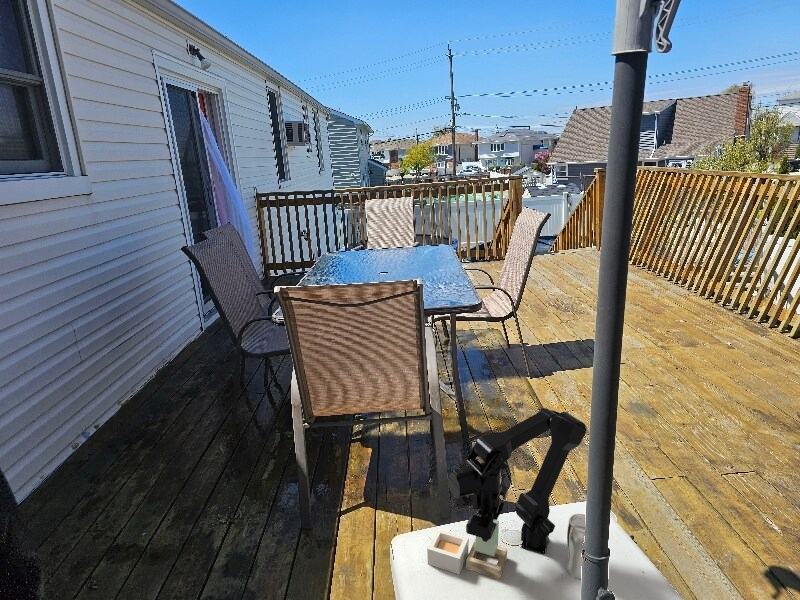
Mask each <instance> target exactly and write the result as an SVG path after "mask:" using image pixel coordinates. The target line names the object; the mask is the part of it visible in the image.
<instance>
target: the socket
mask: <svg viewBox="0 0 800 600" xmlns="http://www.w3.org/2000/svg"><path fill="white" fill-rule="evenodd" d="M441 540H443V541H446V542H449V543H452V544H456V545H459V546H460V548H459V550H458V552H457V554H454V553H451V552H448V551H445V550H442V549H438V548H437V547H438V545H439V543H440V541H441ZM469 540H470V538H469V537H467V536H464V535H460V534H457V533H453V532H451V531H447V530H444V529H439V528H437V530H436V532H435V534H434V535H433V538H432V539H431V541H430V543H429V545H428V547H427V554H426V555H427V565H430V566H433V567H436V568H439V569H442V570H444V571H448V572H451V573H454V574H457V575H460V574H461V571H462V569H463V566H464V564H465V562H466V560H465V559H467V558H466V557H468V555H469V552H470V550H469V543H470V541H469Z"/></svg>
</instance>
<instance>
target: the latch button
mask: <svg viewBox="0 0 800 600" xmlns="http://www.w3.org/2000/svg"><path fill="white" fill-rule="evenodd" d="M437 548H438V549H442V550H445V551H448V552H451V553H454V554H457V552H458V550H459V548H460V546H459V545H456V544H452V543H449V542H446V541H443V540H441V541H440V543H439V545H438V547H437Z"/></svg>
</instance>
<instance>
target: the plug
mask: <svg viewBox="0 0 800 600" xmlns="http://www.w3.org/2000/svg"><path fill="white" fill-rule="evenodd" d="M487 517H488V516H487ZM493 522H494V523H497V524H496V527H495V529H494V531H493V534H492V537H491V539H488V541H487V542H484V541H483V540H482V538H481V537H477V536H475V539H476V547H475V551H478V553H479V552H481V553H480V554H483V553H485V554H484V555H486V554H488V555H487V556H489V555H491V556H490V557H492V556H494V555H495V553H496V550H497V547H498V546H499V531H500V529H499V528H500V527H499V526H500V525H499V523H500V521H499V519H497V520H495V519H494V520H493Z"/></svg>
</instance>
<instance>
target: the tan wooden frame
mask: <svg viewBox="0 0 800 600" xmlns="http://www.w3.org/2000/svg"><path fill="white" fill-rule="evenodd" d="M475 547H476V538H475V539H474V541H473V543H472V545H471V547H470V550H469V551H468V555H467V558H466V560H465V562H466V570H469V571H471V572H476V573H478V574H481V575H485V576H487V577H491V578H494V579H497V580H501V577H502V573H503V570H504V568H505V564H506V562H507V558H508V548H507V547H503V546H501V545H498V547H497V550H496V553H495V555H494V556H491V555H488V554H485V553H482V554H483V555H486V556H489V557H493V558H495V559H498V560H497V563H496V564H494V563H491V562H488V561H484V560H481V559H477V556H478V553H479V552H478V551H475ZM477 552H478V553H477ZM476 555H477V556H476Z"/></svg>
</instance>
